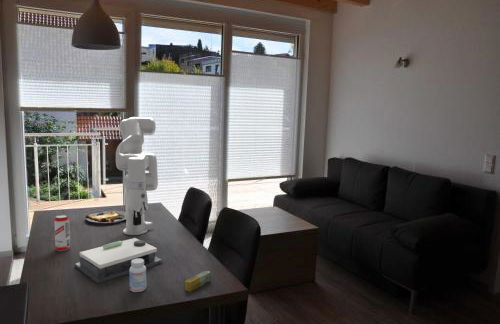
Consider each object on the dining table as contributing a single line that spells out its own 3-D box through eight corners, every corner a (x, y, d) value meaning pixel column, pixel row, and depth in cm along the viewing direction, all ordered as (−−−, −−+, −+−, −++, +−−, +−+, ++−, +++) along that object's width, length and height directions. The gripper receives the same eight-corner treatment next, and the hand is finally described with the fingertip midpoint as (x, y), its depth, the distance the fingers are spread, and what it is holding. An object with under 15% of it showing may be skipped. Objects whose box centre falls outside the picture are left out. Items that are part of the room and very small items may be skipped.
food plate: (97, 228, 221) (97, 222, 221) (78, 219, 237) (78, 213, 236) (137, 220, 240) (137, 214, 239) (117, 212, 255) (117, 207, 255)
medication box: (205, 279, 163) (205, 270, 163) (210, 281, 162) (210, 271, 161) (184, 290, 154) (184, 280, 153) (189, 292, 152) (189, 282, 152)
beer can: (64, 252, 187) (63, 218, 184) (52, 250, 188) (50, 217, 186) (73, 247, 193) (71, 214, 191) (61, 246, 194) (59, 213, 192)
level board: (135, 240, 189) (134, 234, 189) (157, 251, 177) (156, 244, 177) (79, 255, 171) (79, 248, 170) (99, 268, 158) (99, 260, 158)
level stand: (136, 249, 192) (136, 240, 191) (161, 262, 178) (161, 252, 177) (75, 266, 171) (74, 256, 171) (98, 283, 157) (98, 271, 156)
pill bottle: (131, 285, 156) (130, 257, 154) (147, 285, 157) (147, 257, 155) (128, 292, 150) (127, 264, 148) (144, 292, 151) (144, 263, 149)
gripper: (153, 187, 177) (153, 227, 180) (135, 180, 187) (135, 218, 190) (138, 189, 171) (138, 231, 175) (120, 183, 181) (121, 222, 185)
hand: (137, 224), depth 183 cm, fingers closed
